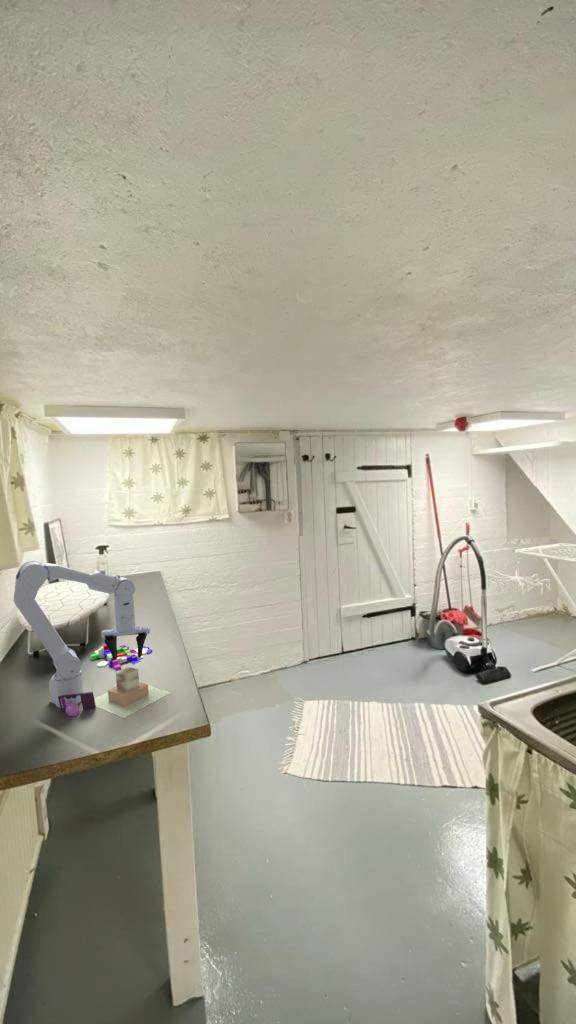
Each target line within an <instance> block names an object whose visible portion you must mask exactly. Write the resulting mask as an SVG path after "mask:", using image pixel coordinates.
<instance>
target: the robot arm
mask: <svg viewBox="0 0 576 1024" xmlns="http://www.w3.org/2000/svg"><path fill="white" fill-rule="evenodd" d="M59 579H60V580H66V581H71V582H76V583H81V584H84V585H85V584H86V585H87V587H88V590H92V591H96V592H99V593H100V592H101V593H105V594H109V595H112V594H113V596H114V597H113V598H114V602H113V603H114V604H113V605H114V606H113V607H114V618H115V628H111V629H103V630H102V631H101V632H100V633H101V634H100V636H101V639H104V640H103V641H104V642H103V643H104V644H105V645H107V646H108V648H109V650H110V652H111V654H112V657H113V660H116V659H117V654H118V653H117V648H118V647H117V645H118V644H117V640H118V637H124V636H136V635H137V636H136V638H135V640H136V644H137V645H136V646H137V649H138V658H141V656H143V655H142V650H143V646H145V645H144V644H145V641H146V638H147V636H148V635H149V634H151V626H136V620H135V619H136V617H135V604H134V593H135V592H136V586H135V584H134V582H133V581H132V580H130V579H128V578H127V577H124V576H121V575H120V574H116V575H114V574H110V573H106V571H105V570H103V569H100V570H96V571H92V572H91V573H89V572H84V571H81V570H78V569H74V568H70V567H67V566H63V565H60V564H56V563H49V562H39V561H36V560H29V561H28V560H27V561H26V562H24V563H23V564H22V565H21V566H20V568H19V570H18V571H17V573H16V574H15V583H14V584H15V585H14V592H13V602H14V604H15V606H16V607H17V609H18V611H19V612H20V614H21V615H22V616H23V618H24V620H25V621H26V623H28V625H29V626H30V628H31V629H32V631H33V632H34V634H35V636H36V637H37V638H38V639H39V641H40V642H41V644H42V645H43V647H44V648H45V650H46V651H47V652H48V654H49V656H50V657H51V659H52V664H53V666H54V668H55V669H56V671H55V673H54V674H53V675H52V676H51V677H50V680H49V682H48V688H49V700H50V701H49V702H50V703H52V704H54V705H55V706H56V707H57V708H60V704H59V700H58V696H62V695H70V694H78V693H84V687H83V673H82V664H83V663H82V661H81V660H80V658H79V657H78V656H77V653H76V651H75V650H73V649H72V648H70V647H68V646H67V645H66V642H64V640H63V639H62V637H61V636H60V635H59V633H58V631H57V630H56V628H55V627H54V625H53V624H52V622H51V621H50V620H49V618H48V617H47V615H46V614H45V612H44V611H43V609H42V608H41V606H40V604H38V602H37V600H36V597H37V595H38V591H39V590H40V588H41V587H42V586H43V585H44V584H45V582H47V580H48V582H53V581H56V580H59ZM71 701H72V702H76V703H77V705H78V704H80V703H82V702H81V697H80V695H79V696H77V697H76V698H72V697H71V699H67V698H66V699H65V702H66V704H67V702H68V703H70V702H71ZM61 704H62V701H61ZM62 708H63V705H62ZM60 709H61V708H60ZM63 709H64V708H63Z"/></svg>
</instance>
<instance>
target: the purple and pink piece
mask: <svg viewBox="0 0 576 1024" xmlns="http://www.w3.org/2000/svg"><path fill="white" fill-rule="evenodd" d="M79 695H80V697H81V702H80V703H81V706H82V710H88V709H95V708H97V707H96V705H95V700H94V698H95V695H94V692H93V691H88V692H87V691H86V692H83V693H78V694H70V695H62V696H58V700H59V704H60V712H61V713H64V711H65V713H66V715H67V716H69V717H77V716H78V715H79V714H80V713H81V710H80V709H79V706H80V705H78V704H77V703H76V702H72V701H71V702H70V703H68V702H67V704H66V702H65V699H66V698H67V699H71V697H72V698H76V697H77V696H79ZM61 701H62V704H61ZM62 705H63V708H62Z"/></svg>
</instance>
